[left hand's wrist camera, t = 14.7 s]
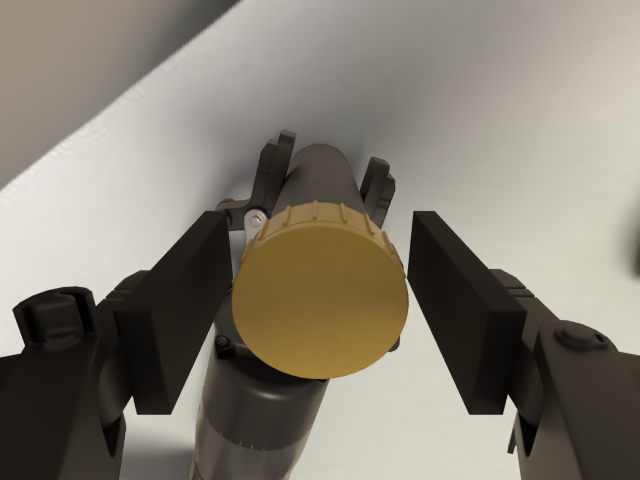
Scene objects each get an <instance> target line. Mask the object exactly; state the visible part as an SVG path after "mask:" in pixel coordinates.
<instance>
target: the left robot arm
mask: <svg viewBox="0 0 640 480" xmlns="http://www.w3.org/2000/svg"><path fill="white" fill-rule="evenodd" d="M232 280H233V273H232V263H231V253H230V242H229V232H228V222H227V211H205V212H204V213H203V214H202V215H201V216H200V217H199V219H198V220H197V221H196V222H195V223H194V224H193V225H192V226H191V227H190V228H189V229H188V230H187V231H186V232H185V234H184V235H183V236H182V237H181V238H180V239H179V240H178V241H177V242H176V243H175V244H174V245H173V246H172V248H171V249H170V250H169V251H168V252H167V253H166V254H165V255H164V256H163V257H162V258H161V259H160V260H159V261H158V263H157V264H156V265H155V266H154V267H153V268H152V269H151V270H140V271H138V272H136V273H134V274H132V275H130V276H129V277H127V278H125V279H124V280H123V281H122V282H121V283H119V284H118V285H117V286H116V287H115V288H114V291H111V292H110V293H109V294H108V295H107V296H106V299H103V300H102V301H101V302H100V303H99V304H98V305H97V306H96V305H95V301H94V298H93V294H92V291H90V290H89V289H87V288H84V287H77V286H74V287H61V288H57V289H52V290H47V291H44V292H42V293H39V294H36V295H33V296H31V297H29V298H27V299H25V300H24V301H22V302H20V303H19V304H18V305H17V306H16V307H14V308H13V309H12V310H13V313H14V316H15V319H16V322H17V324H18V327H19V330H20V333H21V336H22V338H23V341H24V344H25V347H24V349H23V351H22V352H21V354H16V355H11V356H5V357H0V480H119V475H120V468H121V461H122V454H123V447H124V439H125V432H126V423H125V418H124V414H123V410H124V408H125V407H126V405H127V403H128V402H129V400H130V398H131V397H132V395H133V399H134V404H135V408H136V412H137V415H171V413H172V411H173V409H174V406H175V404H176V402H177V400H178V398H179V395H180V393H181V391H182V389H183V387H184V385H185V382H186V380H187V378H188V376H189V374H190V371H191V369H192V367H193V365H194V363H195V360H196V358H197V356H198V354H199V352H200V350H201V347H202V345H203V343H204V341H205V339H206V336H207V334H208V332H209V330H210V328H211V325H212V323H213V321H214V319H215V317H216V315H217V312H218V310H219V308H220V306H221V304H222V301H223V299H224V297H225V295H226V293H227V290H228V288H229V286H230V284H231V282H232ZM407 280H408V282H409V284H410V286H411V288H412V290H413V293H414V295H415V297H416V299H417V301H418V304H419V306H420V308H421V310H422V312H423V315H424V317H425V319H426V321H427V323H428V325H429V328H430V330H431V332H432V334H433V336H434V339H435V341H436V343H437V345H438V347H439V350H440V352H441V354H442V356H443V358H444V360H445V363H446V365H447V367H448V369H449V371H450V374H451V376H452V378H453V380H454V382H455V385H456V387H457V389H458V391H459V393H460V395H461V398H462V400H463V402H464V404H465V406H466V409H467V411H468V413H469V415H503V412H504V408H505V404H506V399H507V395H509V396H510V398H511V400H512V401H513V403H514V404H515V406H516V408H517V409H518V410H517V414H516V418H515V421H514V425H513V429H512V433H511V437H510V441H509V445H508V451H507V453H510V454H513V452H514V448H515V446H516V445H517V452H518V460H519V467H520V474H521V480H640V356H639V355H634V354H628V353H623V352H618V350H617V348H616V346H615V345H614V344H613V343H612V342H611V341H610V339H609V338H608V337H606V336H605V335H603V334H602V333H600V332H598V331H597V330H595V329H592V328H590V327H588V326H585V325H583V324H579V323H576V322H572V321H567V320H559V319H558V318H557V317H556V316H555V315H554V314H553V313H552V312H551V311H550V310H549V309H548V308H547V307H546V306H545V305H544V304H543V303H542V302H541V301H540V300H539V299H538V298H537V297H534V294H533V293H532V292H530V291H529V290H528V289H526V287H525V286H524V285H523V284H522V283H521V282H520V281H519V280H518V279H517V278H516V277H514V276H512V275H510V274H508V273H507V272H505V271H503V270H501V269H488V268H487V267H486V266H485V265H484V264H483V263H482V261H481V260H480V259H479V258H478V257H477V256H476V255H475V254H474V253H473V252H472V251H471V250H470V249H469V248H468V246H467V245H466V244H465V243H464V242H463V241H462V240H461V239H460V238H459V237H458V236H457V235H456V234H455V232H454V231H453V230H452V229H451V228H450V227H449V226H448V225H447V224H446V223H445V222H444V221H443V220H442V219H441V217H440V216H439V215H438V214H437V213H436V212H435V211H413V222H412V232H411V242H410V253H409V263H408V273H407Z"/></svg>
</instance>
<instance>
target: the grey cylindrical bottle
mask: <svg viewBox="0 0 640 480" xmlns="http://www.w3.org/2000/svg"><path fill="white" fill-rule="evenodd" d="M313 200H317V202H318V203H332V204H338V205H340V204H341V203H344V205H345V207H348V208H351V209H353V210H355V211H358V212H359V213H361V214H363V215H365V214H367V211H366V209H365V206H364V203H363V201H362V198H361V195H360V193H359V190H358V188H357V185H356V182H355V180H354V177H353V174H352V172H351V169H350V166H349V164H348V162H347V160H346V158H345V156H344V155H343V154H342V153H341V152H340V151H339V150H337V149H336V148H334V147H332V146H329V145H325V144H315V145H311V146H308V147H306V148H304V149H303V150H301V151H300V152H299V153H298V154H297V155H296V156H295V158H294V159H293V161H292V163H291V166H290V168H289V171H288V174H287V176H286V179H285V182H284V184H283V187H282V190H281V192H280V195H279V197H278V200H277V203H276V205H275V208H274V211H273V213H272V216H271V218H273V217H274V216H276V215H277V214H279V213H281V212H282V211H284V210H286V208H287V206H290V207H291V208H292V207H294V206H298V205H302V204H306V203H313ZM367 215H368V214H367Z"/></svg>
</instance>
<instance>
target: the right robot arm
mask: <svg viewBox="0 0 640 480" xmlns="http://www.w3.org/2000/svg"><path fill="white" fill-rule="evenodd" d="M295 139H296V134H295V133H291V132H288V131H284V130H283V131H282V132H281V134H280V137H279V141H276V140H273V139H271V140H270V141H269V142H268V143H267V144H266V146H265V147H264V149H263V150H262V151H261V155H260V159H259V164H258V169H257V173H256V178H255V182H254V187H253V191H252V196H251V198H249V199H247V200H242V201H235V200H233V199H224V200H222V201H221V202H220V203H219V205H218V206H217V208H216V209H215V210H214V211H227V222H228V231H237V230H245V240H246V246H247V244H248V242H249V240H250V238H252V239H253V238H254V237H255V235H256V234H257V232H258V231H259V230H260V229H261V227H262V226H263V223H264V221H265V220H266V219H268V220H270V219H271V216H272V213H273V211H274V208H275V205H276V203H277V200H278V197H279V195H280V192H281V190H282V187H283V184H284V182H285V178H286V174H287V170H288V166H289V163H290V159H291V155H292V151H293V147H294V143H295ZM389 168H390V166H389V164H388V163H387V162H386V161H385V160H383V159H379V158H376V157H371V159H370V161H369V164H368V167H367V170H366V173H365V176H364V179H363V182H362V185H361V188H360V191H359V193H360V195H361V198H362V201H363V203H364V206H365V209H366V211H367V214H368V216H369V218H370V220H371V221H372V222H373V223H374V224H375V225H376V226H377V227H378V228H379V229H380V230H381V227H382V225H383V222H384V219H385V217H386V214H387V211H388V208H389V206H390V203H391V200H392V198H393V195H394V192H395V179H394V178H393V177H392V175H391V174H390V173H389ZM391 245H392V247H393V249H394V251H395V253H396V255H397V257H398V260H399V262H400V264H401V266H402V268H403V270H404V267H403V264H402V262H401V260H400V257H399V255H398V253H397V251H396V249H395V247H394V245H393V244H392V243H391ZM232 283H233V282H231V284H230V286H229V288H228V290H227V293H226V295H225V297H224V299H223V301H222V304H221V306H220V308H219V310H218V312H217V315H216V317H215V319H214V321H213V323H214V326H215V337H214V342H213V346H212V351H211V355H210V360H209V365H208V369H207V374H206V378H205V383H204V388H203V392H202V397H201V402H200V406H199V411H198V416H197V422H196V430H195V447H194V452H193V456H192V461H191V465H190V470H189V474H188V479H187V480H288V479H289V476H290V474H291V472H292V470H293V468H294V466H295V465H296V463H297V461H298V460H299V458H300V456H301V454H302V452H303V450H304V447H305V445H306V442H307V439H308V437H309V434H310V431H311V429H312V426H313V423H314V421H315V418H316V415H317V413H318V410H319V407H320V405H321V402H322V399H323V396H324V394H325V391H326V388H327V386H328V383H329V380H330V378H328V379H311V378H303V377H298V376H294V375H290V374H287V373H284V372H282V371H280V370H277V369H275V368H273V367H271V366H270V365H268V364H267V363H265V362H263V361H262V360H261V359H260V358H258V357H257V356H256V355H255V354H254V353H253V352H252V351H251V350H250V349H249V348H248V347H247V345H246V344H245V343H244V341H243V340H242V338H241V336H240V335H239V333H238V331H237V328H236V326H235V323H234V320H233V315H232V309H231V295H232V288H233V287H232ZM399 343H400V336H399V338H398V339H397V341H396V342H395V344H394V345H393V346H392V347H391V349H390V350H389V351H388V352H392V351H394V350H396V349H397V348H398V346H399Z"/></svg>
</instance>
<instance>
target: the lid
mask: <svg viewBox="0 0 640 480" xmlns="http://www.w3.org/2000/svg"><path fill="white" fill-rule="evenodd" d="M240 262H241V265H240V267H239V270H238V272H237V274H236V276H235V279H234V281H233V283H232V287H233V288H232V295H231V309H232V315H233V320H234V323H235V326H236V328H237V331H238V333H239V335H240V336H241V338H242V340H243V341H244V343H245V344H246V345H247V347H248V348H249V349H250V350H251V351H252V352H253V353H254V354H255V355H256V356H257V357H258V358H260V359H261V360H262V361H263V362H265V363H267V364H268V365H270V366H271V367H273V368H275V369H277V370H280V371H282V372H284V373H287V374H290V375H294V376H298V377H303V378H311V379H328V378H337V377H342V376H346V375H349V374H353V373H355V372H358V371H360V370H362V369H365V368H366V367H368V366H370V365H372V364H373V363H375V362H376V361H377V360H379V359H380V358H381V357H383V356H384V355H385V354H386V353H387V352H388V351H389V350H390V349H391V347H392V346H393V345H394V344H395V342H396V341H397V339H398V338H399V336H400V334H401V332H402V330H403V328H404V325H405V322H406V318H407V314H408V306H409V300H408V290H407V285H406V282H405V278H406V275H405V273H404V270H403V268H402V266H401V264H400V262H399V260H398V257H397V255H396V253H395V251H394V249H393V247H392V245H391V243H390V240H389V238H388V236H387V234H386V232H385V231H384V232H382V231H381V230H380V229H379V228H378V227H377V226H376V225H375V224H374V223H373V222H372V221H371V220H370V218H369V216H368V215H367V214H365V215H363V214H361V213H359V212H358V211H355V210H353V209H351V208H348V207H345V205H344V203H341V204H340V205H338V204H332V203H318V202H317V200H313V203H306V204H302V205H298V206H294V207H292V208H291V207H290V206H287V208H286V210H284V211H282V212H281V213H279V214H277V215H276V216H274V217H273V218H271V219H270V220H268V219H266V220H265V221H264V223H263V226H262V227H261V229H260V230H259V231H258V232H257V234H256V235H255V237H254V238H253V239H252V238H250V240H249V242H248V244H247V246H246V248H245V251H244V253H243V255H242V257H241V259H240Z"/></svg>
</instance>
